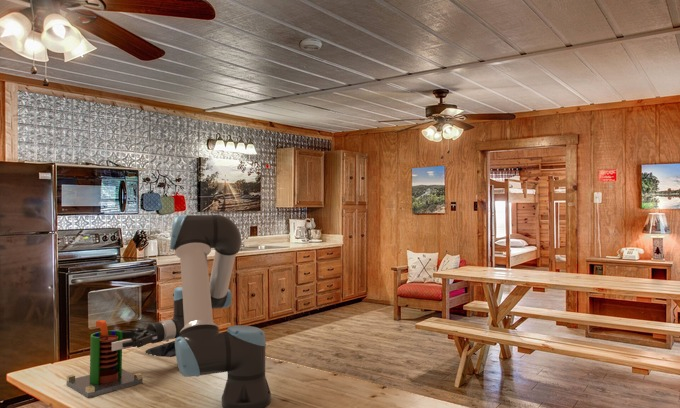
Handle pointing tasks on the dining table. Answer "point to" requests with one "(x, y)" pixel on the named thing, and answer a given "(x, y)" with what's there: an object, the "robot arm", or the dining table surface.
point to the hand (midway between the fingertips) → (103, 343)
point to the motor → (105, 355)
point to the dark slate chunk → (163, 350)
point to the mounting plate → (103, 384)
